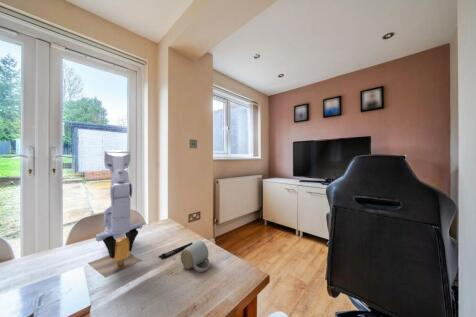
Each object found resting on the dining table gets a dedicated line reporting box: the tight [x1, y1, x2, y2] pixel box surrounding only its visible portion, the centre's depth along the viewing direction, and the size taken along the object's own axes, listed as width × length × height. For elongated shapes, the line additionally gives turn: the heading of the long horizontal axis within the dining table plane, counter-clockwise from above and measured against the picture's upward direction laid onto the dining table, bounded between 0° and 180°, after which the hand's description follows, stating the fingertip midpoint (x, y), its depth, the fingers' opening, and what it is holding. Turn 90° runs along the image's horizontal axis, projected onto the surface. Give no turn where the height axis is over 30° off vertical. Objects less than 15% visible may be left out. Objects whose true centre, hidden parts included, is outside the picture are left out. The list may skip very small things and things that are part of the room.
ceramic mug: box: [179, 240, 211, 273], centre depth 67 cm, size 11×8×8 cm
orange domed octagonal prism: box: [112, 237, 130, 261], centre depth 65 cm, size 5×5×6 cm
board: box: [87, 252, 143, 279], centre depth 67 cm, size 15×12×6 cm
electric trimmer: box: [158, 242, 193, 261], centre depth 75 cm, size 4×16×3 cm, turn 140°
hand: (120, 253), depth 65 cm, fingers closed on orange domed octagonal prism, 5 cm apart
